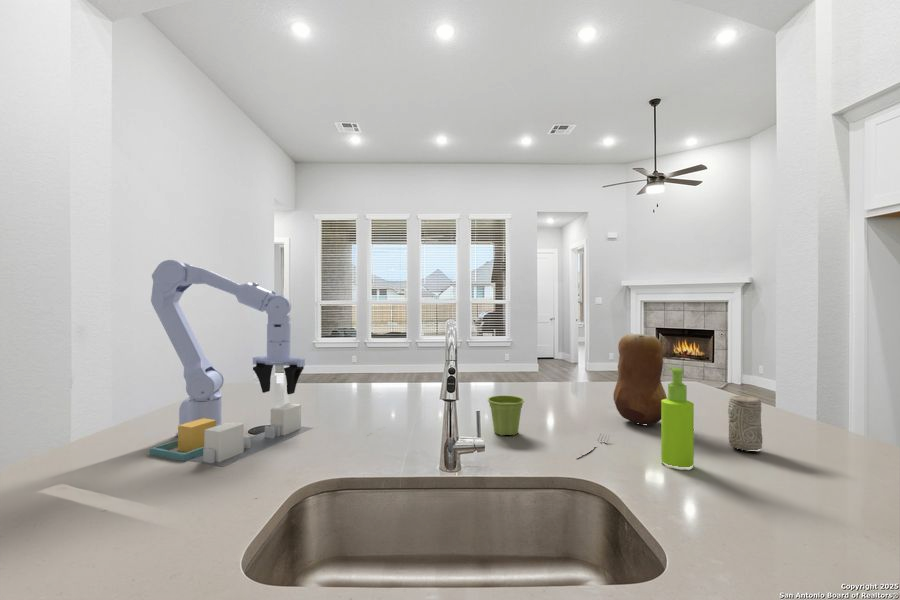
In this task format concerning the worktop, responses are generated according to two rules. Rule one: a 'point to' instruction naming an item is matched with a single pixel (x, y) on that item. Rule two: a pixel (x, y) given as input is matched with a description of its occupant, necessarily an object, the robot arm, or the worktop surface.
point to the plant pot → (506, 413)
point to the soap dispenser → (677, 424)
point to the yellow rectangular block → (193, 434)
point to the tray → (166, 453)
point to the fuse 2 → (287, 417)
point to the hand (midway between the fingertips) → (278, 392)
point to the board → (250, 445)
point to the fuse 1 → (225, 440)
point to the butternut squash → (639, 379)
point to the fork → (604, 438)
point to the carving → (745, 423)
